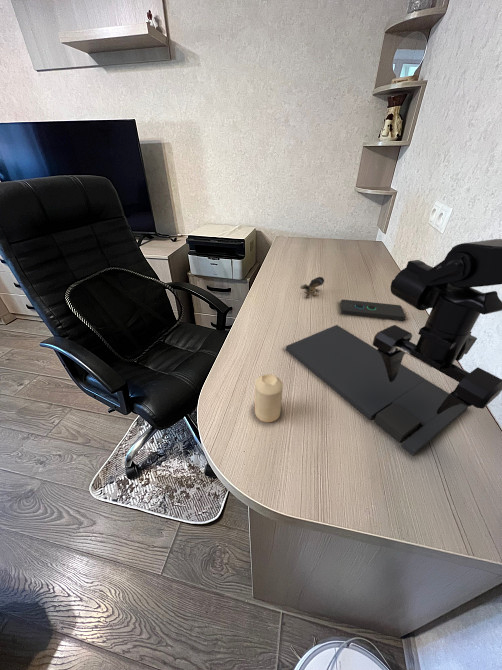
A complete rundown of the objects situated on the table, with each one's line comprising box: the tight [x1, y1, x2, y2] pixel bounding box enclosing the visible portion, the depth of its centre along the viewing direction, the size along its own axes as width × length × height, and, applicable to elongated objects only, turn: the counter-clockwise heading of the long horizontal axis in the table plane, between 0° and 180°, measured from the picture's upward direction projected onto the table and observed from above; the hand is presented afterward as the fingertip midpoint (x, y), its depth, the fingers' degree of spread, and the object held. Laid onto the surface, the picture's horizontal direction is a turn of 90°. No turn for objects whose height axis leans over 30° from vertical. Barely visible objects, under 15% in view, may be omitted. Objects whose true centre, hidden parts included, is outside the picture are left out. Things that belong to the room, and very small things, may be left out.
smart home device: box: [340, 299, 406, 322], centre depth 95 cm, size 8×2×20 cm
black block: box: [373, 402, 421, 444], centre depth 57 cm, size 6×6×2 cm
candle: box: [254, 373, 284, 423], centre depth 57 cm, size 6×6×10 cm
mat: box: [285, 324, 469, 457], centre depth 69 cm, size 38×20×2 cm, turn 33°
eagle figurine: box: [299, 276, 325, 299], centre depth 105 cm, size 8×7×9 cm
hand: (413, 395), depth 51 cm, fingers open, 9 cm apart
